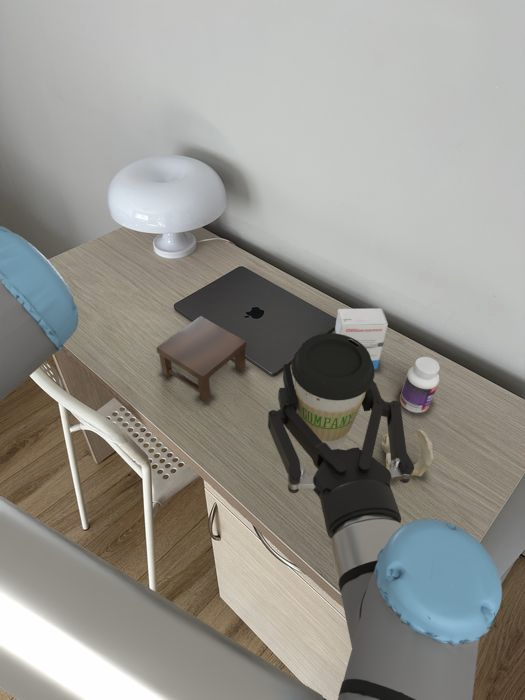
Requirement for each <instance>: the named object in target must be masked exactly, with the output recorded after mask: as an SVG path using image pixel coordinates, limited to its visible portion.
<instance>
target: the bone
mask: <svg viewBox="0 0 525 700" xmlns="http://www.w3.org/2000/svg"><path fill="white" fill-rule="evenodd" d="M380 437H381V440H382V441H381V447H382V450H383V452H384V453H385V467H386V468H387V469H388V470H389V466H390V463H391V454H390V445H389V435H388V432H387V433H384V434H382V435H381V436H380ZM413 437H414V440H415V442H416V443H417V445H418V446H419V449H420V457H419V458H418V461H417V462H415V463H413V465H414V470H413V472H412V475H411V476H417V477H422V476H423V475H424V474H425V472H426V471H427V470H428V469H429V468H430V466H431V465H432V464H433V461H434V459H435V455H434V445H433V443H432V441H431V440H430V439H429V436H428V434H427V432H425V430H423V429H420V428H417V429H414V430H413Z"/></svg>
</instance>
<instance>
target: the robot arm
mask: <svg viewBox="0 0 525 700" xmlns="http://www.w3.org/2000/svg"><path fill="white" fill-rule="evenodd" d="M78 326H79V310H78V306H77V304H76V303H75V300H74V296H73V294H72V292H71V290H70V288H69V286H68V284H67V282H66V281H65V279H64V278H63V277H62V275H61V274H60V273H59V272H58V270H57V269H56V267H54V265H53V264H52V263H51V262H50V261H49V260H48V258H47V257H45V255H43V254H42V253H41V252H40V251H39V249H37V248H36V247H35V246H34V245H33V244H32V243H30V242H29V241H28V240H26V239H25V238H24V237H22V236H21V235H19V234H18V233H14V232H12V231H11V230H9V229H8V228H7V227H4V226H3V225H0V403H1V402H2V401H3V400H5V398H7V397H8V396H9V395H10V394H11V393H12V392H13V391H15V390H16V389H17V388H18V387H19V386H20V385H21V384H22V383H23V382H25V381H26V379H28V378H29V377H30V376H31V375H32V374H34V373H35V372H36V371H37V370H38V369H39V368H40V367H41V366H43V364H45V363H46V362H47V361H48V360H49V359H50V358H51V357H53V356H54V355H55V354H56V353H57V352H60V351H62V350H63V348H64V345H65V344H66V342H68V340H69V339H71V337H72V336H73V335H74V334H75V333H76V331H77V329H78ZM282 371H283V372H282V380H283V381H282V382H283V387H279V388H278V397H277V398H278V404H279V409H277V410H275V409H271V410H269V411H268V415H267V429H268V431H269V434H270V435H271V438H272V440H273V443H274V445H275V448H276V450H277V452H278V454H279V457H280V460H281V462H282V464H283V466H284V469H285V471H286V474H287V489H288V491H289V493H291V494H298V492H299V491H300V490H313V491H314V493H315V494H316V495H317V496H318V498H319V501H320V505H321V511H322V515H323V521H324V524H325V528H326V532H327V533H326V534H327V536H328V538H329V539H330V541H329V548H330V552H331V558H332V562H333V567H334V571H335V575H336V581H337V585H338V587H339V592H340V596H341V602H342V606H343V607H342V608H343V611H344V616H345V621H346V626H347V632H348V635H349V641H350V646H351V651H350V655H349V658H348V662H347V666H346V669H345V673H344V677H343V681H342V682H341V685H340V689H339V692H338V697H337V700H473V696H474V687H475V679H476V678H475V677H476V669H477V662H478V653H479V644H480V639H481V637H483V636H484V635H485V634H487V633H488V632H489V631H490V628H491V627H492V625H493V624H494V622H495V617H496V616H497V614H498V612H499V610H500V607H501V604H502V598H503V588H502V581H501V576H500V573H499V570H498V568H497V565H496V564H495V561H494V559H493V558H492V556H491V555H490V553H489V552H488V550H487V549H486V548H485V547H484V545H483V544H482V543H481V542H480V541H479V540H478V539H477V538H475V536H473V535H472V534H471V533H469V532H468V531H466V529H463V528H461V527H459V526H457V525H455V524H453V523H451V522H447V521H444V520H441V519H435V518H433V519H431V518H422V519H416V520H412V521H409V522H407V523H404V524H402V523H401V522H402V516H401V513H400V510H399V506H398V504H397V501H396V498H395V495H394V492H393V489H392V488H391V487H392V486H391V483H393V482H396V481H399V482H400V483H402V484H407V483H409V481H410V479H411V477H412V476H413V475H412V472H413V470H414V465H413V464H414V463H413V461H412V460H411V458H410V456H409V454H408V451H407V444H406V436H405V435H406V434H405V428H404V420H403V413H402V407H401V406H402V404H401V402H400V401H398V400H391V401H390V402H389V401H386V400H385V399H384V398H382V395H381V393H380V391H379V388H378V384H377V383H376V382H375V380H373V383H372V385H371V387H370V388H369V389H368V390H367V391H366V393H365V397H364V399H363V401H362V404H361V406H362V409H363V412H370V415H369V419H368V424H367V427H366V432H365V436H364V440H363V442H362V443H363V444H362V448H360V447H359V446H358V447H351V448H348V449H341V448H340V449H333V450H331V448H330V447H329V446H328V445H327V444H326V443H325V442H324V443H323V442H322V441H321V440H320V439H319V438H318V436H317V435H316V434H315V433H314V432H313V431H312V429H311V428H310V427H309V426H308V425H307V424H306V422H305V421H304V420H303V419H302V418H301V417H300V415H299V414H298V413H297V404H298V402H297V397H296V392H295V382H294V379H293V378H294V377H293V374H292V369H291V364H290V363H286V364H283V370H282ZM382 417H384V418H386V423H387V425H386V426H387V433H388V435H389V445H390V454H391V463H390V466H389V470H388V469H387V468H386V466H385V465H384V464H382V463H381V462H380V461H379V460H377V459H376V458H374V457H373V456H374V452H375V451H374V450H375V446H376V442H377V437H378V433H379V429H380V425H381V419H382ZM287 431H288V432H289V433H290V434H291V436H293V438H294V439H295V440H296V441H297V443H298V444H299V445H300V446H301V448H302V449H303V450H304V451H305V453H306V454H307V455H308V456H309V457H310V459H311V460H312V464H313V465H314V467H315V468H316V469H317V470H316V472H315V473H314V475H313V476H312V475H310V473H308V470H307V469H306V468H305V467H304V466H301V462H300V458H299V455H298V454H297V451H296V449H295V446H294V445H293V442H292V440H291V438H290V436H289V433H288V432H287ZM0 690H2V691H3V692H5V693H7V694H8V695H10V696H11V697H12V698H14V699H16V700H328V699H326V698H325V697H324V696H323V695H322V694H321V693H319V692H318V691H316V690H314V689H313V688H311V687H309V685H307V684H305V683H303V682H302V681H300V680H298V679H297V678H295V677H293V676H292V675H290V674H289V673H288V672H285V671H283V670H282V669H280V668H279V667H277V666H275V665H274V664H273V663H271V662H270V661H267V660H266V659H264V658H263V657H261V656H259V655H258V654H256V652H253V651H252V650H250V649H248V648H247V647H246V646H244V645H242V644H240V643H239V642H238V641H235V639H232V638H231V637H229V636H227V635H226V634H224V633H222V632H221V631H219V630H218V629H216V628H215V627H213V626H211V625H210V624H208V623H206V622H205V621H203V620H202V619H200V618H199V617H197V616H195V615H194V614H192V613H190V612H189V611H187V610H186V609H184V608H183V607H181V606H179V605H177V604H176V603H175V602H173V601H171V600H170V599H168V598H166V597H165V596H163V595H161V594H160V593H158V592H156V591H155V590H154V589H152V588H150V587H149V586H147V585H145V584H143V583H142V582H140V581H139V580H137V579H136V578H134V577H133V576H131V575H130V574H127V573H126V572H125V571H123V570H122V569H120V568H118V567H116V566H115V565H113V564H111V563H110V562H108V561H106V560H105V559H104V558H102V557H101V556H98V555H97V554H95V553H94V552H92V551H91V550H89V549H87V548H86V547H84V546H83V545H81V544H80V543H78V542H76V541H74V540H73V539H72V538H69V537H68V536H66V535H65V534H64V533H61V532H60V531H59V530H56V529H55V528H53V526H50V525H49V524H47V523H46V522H44V521H42V520H41V519H39V518H37V517H36V516H34V515H33V514H31V513H29V512H28V511H26V510H25V509H23V508H21V507H20V506H18V505H16V504H15V503H13V502H11V501H10V500H9V499H7V498H6V497H4V496H2V495H0Z"/></svg>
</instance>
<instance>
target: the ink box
mask: <svg viewBox="0 0 525 700" xmlns="http://www.w3.org/2000/svg"><path fill="white" fill-rule="evenodd" d="M388 325H389V323H388V320H387V318H386V315H385V312H384V310H383V308H338V309H337V314H336V320H335V326H334V333H335V334H341V335H346V336H348V337H351V338H353V339H355V340H357V341H358V342H360V343H361V344H362V345H363V346H364V347H365V348H366V349H367V351H368V352H369V354H370V357H371V360H372V362H373V365H374V370H378V368H379V364H380V360H381V356H382V351H383V347H384V344H385V340H386V335H387V330H388V327H389V326H388Z"/></svg>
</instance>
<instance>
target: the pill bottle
mask: <svg viewBox="0 0 525 700" xmlns="http://www.w3.org/2000/svg"><path fill="white" fill-rule="evenodd" d="M439 371H440V364H439V362H438V361H437V360H435V359H434V358H432V357H429V356H421V357H419V358H417V359H416V360H415V362H414V365H412V366H411V367H409V369H408V371H407V373H406V376H405V380H404V382H403V386H402V389H401V393H400V394H399V403H400V405H401V406H402V407H403V408H404V409H406V411H409V412H412V413H415V414H418V413H419V414H420V413H424V412H426V411H428V409H429V407H430V406H431V404H432V401H433V398H434V396H435V393H436V391H437V389H438V386H439V383H440V375H439Z"/></svg>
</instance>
